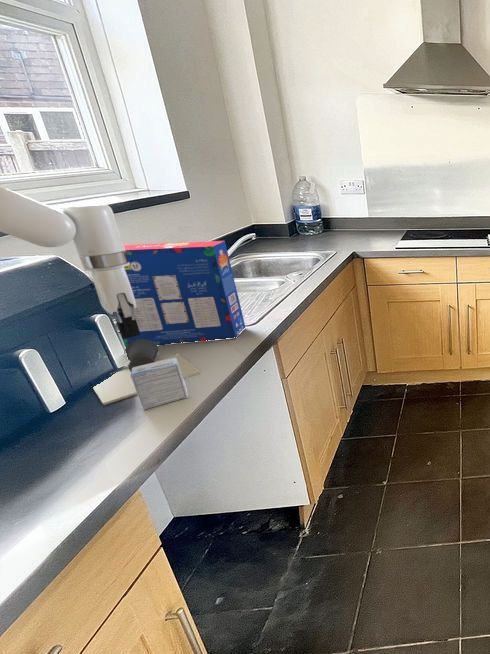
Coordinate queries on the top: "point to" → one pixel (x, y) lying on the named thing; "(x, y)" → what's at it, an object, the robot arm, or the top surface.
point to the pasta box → (183, 292)
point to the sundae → (141, 352)
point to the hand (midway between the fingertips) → (131, 335)
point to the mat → (124, 387)
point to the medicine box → (159, 383)
